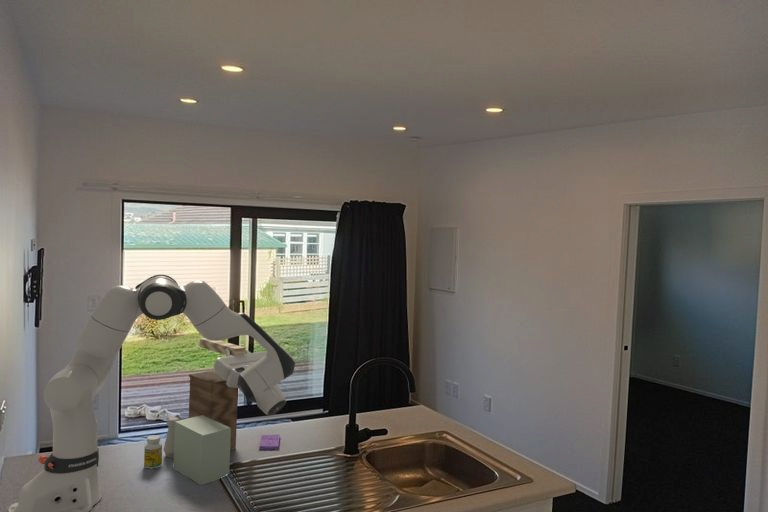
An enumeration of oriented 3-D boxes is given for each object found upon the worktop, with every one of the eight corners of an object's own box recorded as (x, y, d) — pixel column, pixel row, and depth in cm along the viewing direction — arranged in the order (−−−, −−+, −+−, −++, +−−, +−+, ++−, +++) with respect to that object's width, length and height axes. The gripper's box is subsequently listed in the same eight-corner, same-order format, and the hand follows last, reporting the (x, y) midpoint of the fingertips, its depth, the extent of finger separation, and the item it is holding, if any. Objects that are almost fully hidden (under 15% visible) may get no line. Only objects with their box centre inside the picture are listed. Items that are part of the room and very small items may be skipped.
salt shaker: (184, 452, 195) (185, 416, 194) (176, 459, 189) (177, 421, 189) (168, 451, 195) (169, 415, 195) (160, 457, 190) (161, 420, 189)
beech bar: (245, 356, 192) (245, 347, 192) (235, 357, 189) (235, 348, 189) (209, 345, 207) (209, 337, 207) (199, 346, 204) (199, 338, 204)
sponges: (258, 451, 201) (259, 446, 201) (261, 438, 213) (261, 433, 213) (278, 450, 202) (278, 445, 202) (279, 438, 214) (280, 433, 214)
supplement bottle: (164, 463, 185) (165, 435, 185) (156, 470, 180) (157, 440, 180) (149, 462, 186) (150, 433, 185) (140, 468, 180) (141, 439, 180)
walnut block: (208, 457, 192) (211, 382, 192) (186, 445, 202) (189, 374, 201) (236, 448, 201) (239, 377, 200) (214, 437, 211) (217, 369, 210)
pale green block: (200, 485, 171) (202, 435, 170) (173, 468, 182) (174, 421, 181) (229, 475, 178) (230, 428, 178) (200, 460, 189) (202, 415, 189)
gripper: (281, 364, 192) (261, 339, 200) (229, 372, 177) (210, 345, 184) (274, 378, 194) (255, 352, 202) (223, 387, 179) (204, 360, 187)
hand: (233, 349), depth 193 cm, fingers closed on beech bar, 4 cm apart
